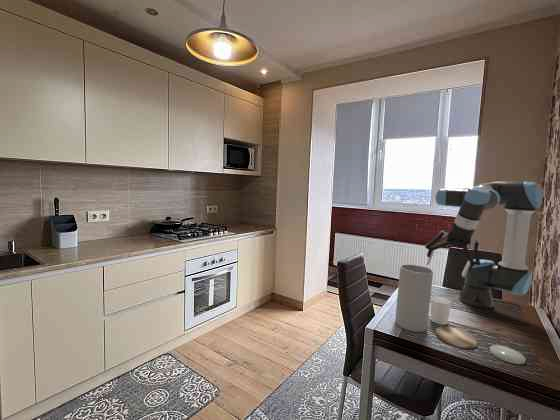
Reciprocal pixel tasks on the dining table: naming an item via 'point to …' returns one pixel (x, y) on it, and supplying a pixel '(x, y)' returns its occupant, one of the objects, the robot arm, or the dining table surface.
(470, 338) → the birch trivet
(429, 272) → the cylinder vase
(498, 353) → the sage coaster
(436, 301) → the white cup
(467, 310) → the dining table surface
